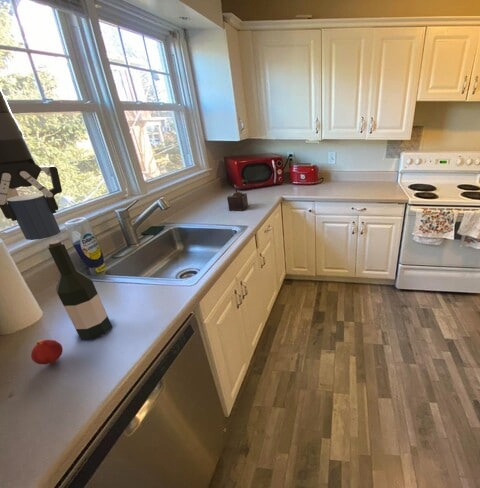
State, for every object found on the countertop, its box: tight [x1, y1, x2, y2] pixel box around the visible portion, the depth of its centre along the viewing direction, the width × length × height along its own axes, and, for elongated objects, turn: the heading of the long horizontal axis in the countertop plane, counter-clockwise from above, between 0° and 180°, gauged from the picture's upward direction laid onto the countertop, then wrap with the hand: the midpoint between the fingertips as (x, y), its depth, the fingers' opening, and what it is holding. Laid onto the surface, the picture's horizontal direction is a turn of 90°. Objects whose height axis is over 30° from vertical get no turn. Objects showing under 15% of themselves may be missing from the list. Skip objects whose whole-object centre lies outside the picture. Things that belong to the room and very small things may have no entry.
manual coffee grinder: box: [226, 179, 249, 212], centre depth 190 cm, size 16×11×18 cm
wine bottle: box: [47, 239, 113, 341], centre depth 79 cm, size 8×8×30 cm
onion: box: [30, 339, 64, 365], centre depth 73 cm, size 6×6×8 cm
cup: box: [6, 193, 62, 241], centre depth 63 cm, size 6×6×9 cm
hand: (34, 215), depth 63 cm, fingers closed on cup, 6 cm apart
